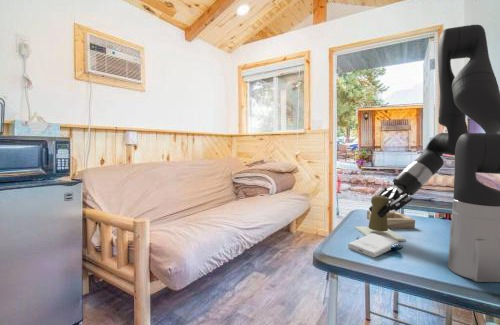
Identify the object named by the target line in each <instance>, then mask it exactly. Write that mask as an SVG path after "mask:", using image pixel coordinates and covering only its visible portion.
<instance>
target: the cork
mask: <svg viewBox="0 0 500 325" xmlns="http://www.w3.org/2000/svg"><path fill="white" fill-rule="evenodd" d="M387 202H388V198H387V197H384V196H376V195H373V196H372V197H371V199H370V203H371V206H372V205H373V206H372V211H371V216H370V220H369V223H368V226H367V227H369V228H370V229H372V230H375V231H388V229H389V228H388V223H387V214H386V215H385V216H384V217H383V218H381V217H379V216H378V215H377V212H378V211H379V210H380V209H381V208H382V207H383V206H384V205H385V206H386V203H387Z"/></svg>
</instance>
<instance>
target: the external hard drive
mask: <svg viewBox="0 0 500 325" xmlns="http://www.w3.org/2000/svg"><path fill="white" fill-rule="evenodd" d="M399 242H400V241H396V240H393V239H390V238H387V237H384V236H381V235H377V234H374V233H372V234H370V235H367V236H365V235H364V236H363V237H360V238H358V239H356V240H353V241H351V242H349V243H348V244H347V248H348V249H350V250H353V251H355V252H358V253H360V254H362V255H366V256H368V257H370V258H376V257H379V256H382V255H383V254H385V253H387V252H389V251H390V250H392V249H391V246H392V245H394V244H399Z"/></svg>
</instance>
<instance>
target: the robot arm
mask: <svg viewBox="0 0 500 325" xmlns="http://www.w3.org/2000/svg"><path fill="white" fill-rule="evenodd" d="M437 44H438V45H437V66H438V68H437V69H438V84H439V108H438V118H437V119H438V124H439V125H441V126H443V127H445V128H446V132H441V133H438V134H436V135H434V136H433V137H432V138H430V141H429V142H428V143H427V145H426V146H425V148H424V149H423V152H422V153H421V154H420V155H419V156H417V158H416V159H415V160H414V161H413V162H411V163H410V164H408V165H407V166H406V167H405V168H404V169H403V170H401V172H399V173H398V175H396V176H395V177H394V178H393V180H392V182H393V185H392V186H390V187H386V186H383V187H382V188H381V189H380V191H379V192H378V193H377V194H376V195H375V196H384V197H386V198H387V199H388V202H387V203H386V206H385V205H384V206H383V207H382V208H381V209H380V210H379V211H378V212H377V215H378V216H379V217H381V218H383V217H384V216H385V215H386V214H387V213H388V212H389V211H397V212H398V211H399V210H400V209H402V208H403V207H404V206H406V205H408V204H409V203H410V202H412V200H413V199H412V198H411V196H414V195H415V194H416V193H417V192H418V191H419V190H420V189H422V187H423V186H424V185H425V184H427V183H428V182H429V180H430V179H431V178H432V177H433V176H434V175H435V174H436V173H437V172H438V171H440V170H441V168H442V167H443V166H444V164H445V161H444V159H443V157H442V156H443V155H448V156H449V155H450V156H454V180H453V198H452V199H453V201H452V211H451V221H450V234H449V244H448V246H449V247H448V258H447V268H448V269H449V270H450V271H452V272H453V273H454V274H456V275H459V276H461V277H464V278H466V279H469V280H472V281H474V282H475V283H476V282H477V283H500V190H499V189H496V188H494V187H490V186H488V185H485V184H483V183H482V182H480V181H479V180H478V179H477V175H476V174H477V173H478V174H481V173H482V174H492V175H493V174H495V175H497V174H498V175H500V87H499V84H498V81H497V77H496V75H495V72H494V70H493V66H492V62H491V60H490V55H489V49H488V47H489V46H488V41H487V35H486V30H485V28H484V26H482V25H481V24H469V25H468V24H467V25H462V26H461V25H460V26H456V27H450V28H445V29H444V30H443V31H442V32H441V34H440V36H439V38H438V42H437ZM465 58H466V59H468V60H469V61H468V62H467V63H466V64H465V65H464V66H463V67H462V68H461V69H460V70H459V72H458V73H457V74H456V76H455V74H454V72H453V68H452V64H451V60H456V59H465ZM466 117H468V118H470V120H472V121H473V122H474V123H476V124H478V126H479V127H480V128H482V129H483V131H484V132H470V133H469V129H468V124H467V121H466ZM372 206H373V205H372V204H371V206H370V207H369V208H368V211H372Z"/></svg>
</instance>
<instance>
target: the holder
mask: <svg viewBox="0 0 500 325" xmlns="http://www.w3.org/2000/svg"><path fill="white" fill-rule="evenodd" d="M370 216H371V211H370V210H367V212H366V219H367V220H369V219H370ZM387 223H388V229H391V228H393V229H394V228H395V229H396V228H398V229H406V228H407V229H416V228H415V227H416V219H414V218H412V217H409V216H408V215H406V214H403V213H401V212H398V210H397V211H395V210H392V211H391V210H390V211H389V212H388V213H387Z"/></svg>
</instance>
